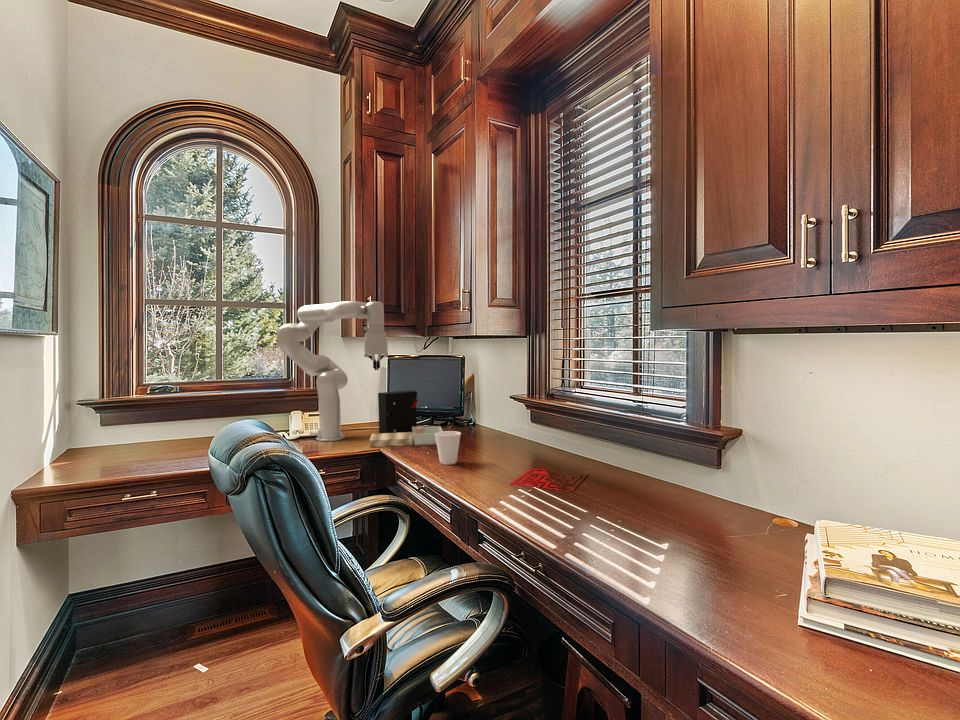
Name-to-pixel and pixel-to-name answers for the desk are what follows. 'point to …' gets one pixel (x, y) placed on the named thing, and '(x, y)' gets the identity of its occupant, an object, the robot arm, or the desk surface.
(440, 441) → the cup
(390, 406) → the electrical component
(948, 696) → the desk surface
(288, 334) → the robot arm
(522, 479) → the maze puzzle
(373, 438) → the board
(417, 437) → the tray
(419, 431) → the tile terracotta
